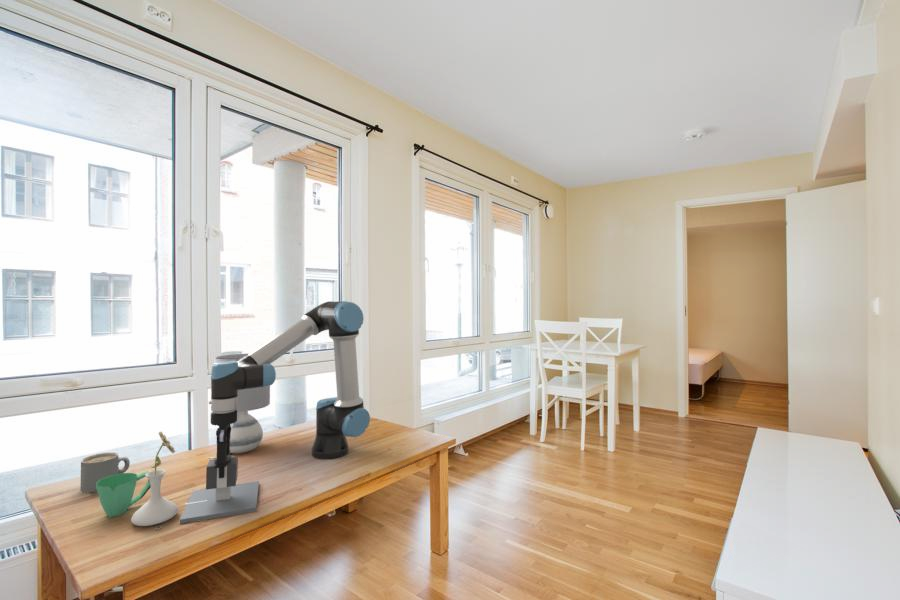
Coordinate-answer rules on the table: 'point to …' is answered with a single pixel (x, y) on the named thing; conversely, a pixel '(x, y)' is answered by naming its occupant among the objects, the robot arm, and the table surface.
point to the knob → (212, 472)
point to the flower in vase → (155, 496)
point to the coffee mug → (100, 469)
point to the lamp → (246, 414)
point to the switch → (220, 502)
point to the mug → (119, 492)
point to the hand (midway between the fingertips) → (223, 482)
